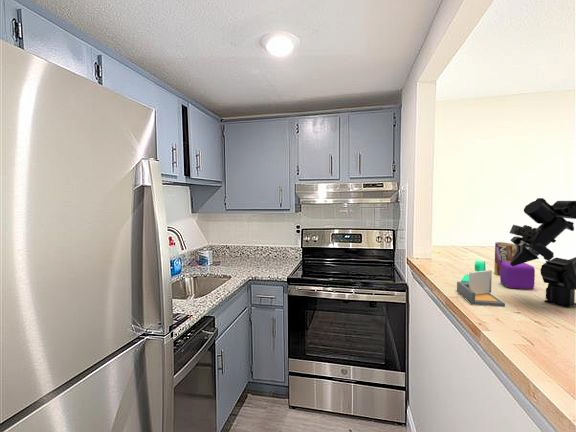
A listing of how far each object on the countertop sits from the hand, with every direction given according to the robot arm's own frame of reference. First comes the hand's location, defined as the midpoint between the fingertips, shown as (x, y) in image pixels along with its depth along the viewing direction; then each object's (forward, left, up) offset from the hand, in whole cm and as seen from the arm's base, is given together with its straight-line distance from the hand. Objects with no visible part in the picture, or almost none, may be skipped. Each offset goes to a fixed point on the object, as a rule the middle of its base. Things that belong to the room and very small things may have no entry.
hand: (511, 265), depth 108 cm
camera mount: (+19, -9, -13) cm, 25 cm away
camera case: (+7, +7, -12) cm, 16 cm away
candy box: (+21, -37, -13) cm, 44 cm away
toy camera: (+10, -23, -13) cm, 28 cm away
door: (+7, +6, -11) cm, 14 cm away
